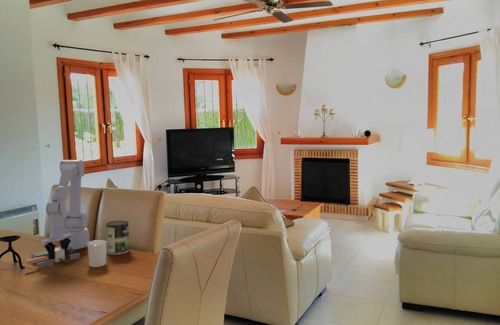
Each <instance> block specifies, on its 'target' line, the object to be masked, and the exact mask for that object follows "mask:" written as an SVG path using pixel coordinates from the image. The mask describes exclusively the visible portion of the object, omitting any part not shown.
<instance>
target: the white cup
mask: <svg viewBox="0 0 500 325" xmlns="http://www.w3.org/2000/svg"><path fill="white" fill-rule="evenodd" d="M87 246H88V247H87V255H88V262H89V264H88V265H89V266H90V267H91V268H101V267H103V266H106V264H107V240H105V239H94V240H90V242H88V243H87Z"/></svg>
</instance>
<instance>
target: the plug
mask: <svg viewBox="0 0 500 325" xmlns="http://www.w3.org/2000/svg"><path fill="white" fill-rule="evenodd" d="M51 260H52V259H51ZM59 262H62V263H65V264H68V263H69V261H68V260H66V257H65V252H64V249H62V248H61V246H59V247H55V258H54V259H53V263H59Z"/></svg>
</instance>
